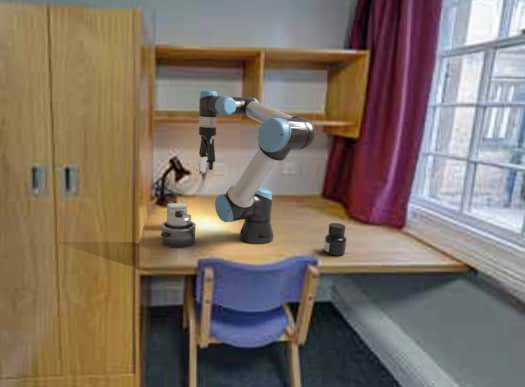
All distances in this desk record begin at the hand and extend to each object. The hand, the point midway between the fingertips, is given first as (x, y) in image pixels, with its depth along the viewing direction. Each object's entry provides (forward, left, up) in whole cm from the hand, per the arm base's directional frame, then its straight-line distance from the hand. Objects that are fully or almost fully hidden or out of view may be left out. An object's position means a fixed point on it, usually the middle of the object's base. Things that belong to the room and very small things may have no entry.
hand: (206, 173), depth 189 cm
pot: (-1, +20, -27) cm, 33 cm away
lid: (-1, +20, -20) cm, 28 cm away
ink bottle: (-60, -10, -27) cm, 67 cm away
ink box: (+11, +7, -27) cm, 30 cm away
